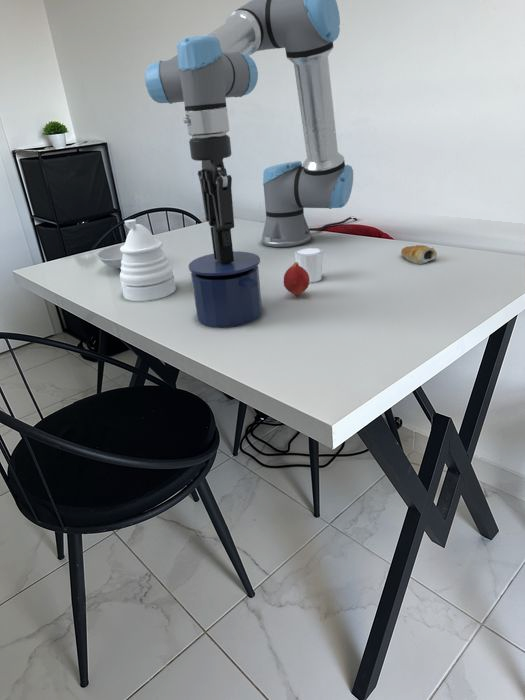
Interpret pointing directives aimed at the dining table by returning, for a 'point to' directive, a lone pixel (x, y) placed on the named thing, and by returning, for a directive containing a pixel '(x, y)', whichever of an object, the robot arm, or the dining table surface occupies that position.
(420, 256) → the pastry
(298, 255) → the white tapered cylinder
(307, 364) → the dining table surface
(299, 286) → the onion
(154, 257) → the honey pot
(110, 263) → the dish
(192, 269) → the lid
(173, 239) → the dining table surface
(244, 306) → the pot
